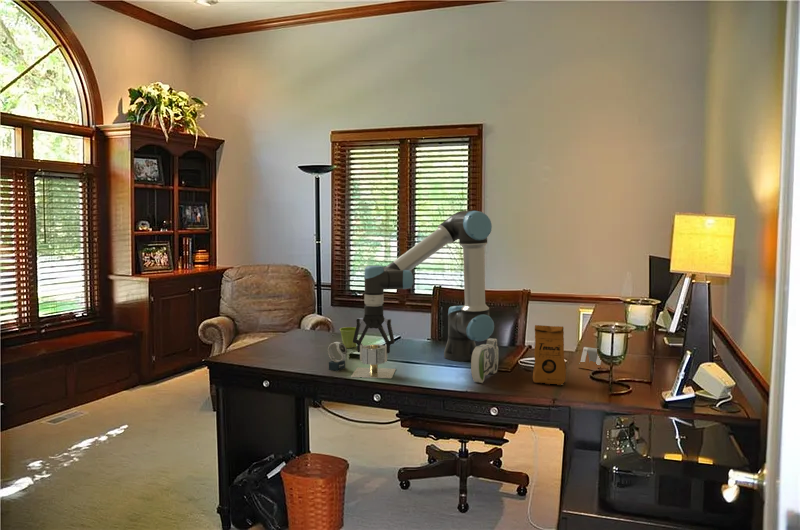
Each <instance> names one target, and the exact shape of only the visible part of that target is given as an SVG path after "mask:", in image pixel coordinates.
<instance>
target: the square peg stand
mask: <svg viewBox="0 0 800 530" xmlns="http://www.w3.org/2000/svg"><path fill="white" fill-rule="evenodd" d="M369 345H370V348H378V345H379V344H369ZM378 365H379V364H376V365H370V364H369V367H356V369H355V370H354V372H353V373H352V374H351V376H350V378H360V377H362V378H365V379H393V378H394V377H393V376H394V374H395V372H396V370H397V369H396V368H385V367H384V368H383V367H382V368H381V367H378Z"/></svg>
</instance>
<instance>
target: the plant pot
mask: <svg viewBox="0 0 800 530" xmlns="http://www.w3.org/2000/svg"><path fill="white" fill-rule="evenodd" d="M355 330H356V326H355V327H354V326H353V327H352V326H347V327H345V326H344V327H340V328H339V331H340V336H341V340H342V342H341V343H343V344H344V345H345V346H346V349H353V348H356V347H357V344H356V343H353V338H354V334H355Z"/></svg>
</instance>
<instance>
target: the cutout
mask: <svg viewBox="0 0 800 530" xmlns="http://www.w3.org/2000/svg"><path fill="white" fill-rule="evenodd" d="M498 366H499V346H498V339H497V338H491V337H489V338H488V339H486V343H482V344H480V345H476V347H475V348H474V350H473V353H472V358H471V360H470V367H471V368H470V371H471V376H472V380H473V382H474V383H480V384H483V383H484V381H485V377H486V376H488V375H489V374H491V375H494V374H496V373H498V368H499V367H498Z"/></svg>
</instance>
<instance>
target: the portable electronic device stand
mask: <svg viewBox="0 0 800 530" xmlns="http://www.w3.org/2000/svg"><path fill="white" fill-rule="evenodd" d="M597 349H598V348H595V347H588V346H583V350H582V352H581V358H580V362H585V363H586V359H587V357H588V360H589V362H590V361H593V362H596V364H597V365H601V366H602V364H601V363H602V360H600V358H599V356H598V354H597ZM587 355H588V356H587ZM580 362H579V363H580Z"/></svg>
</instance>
